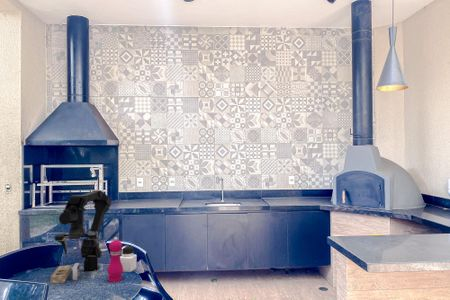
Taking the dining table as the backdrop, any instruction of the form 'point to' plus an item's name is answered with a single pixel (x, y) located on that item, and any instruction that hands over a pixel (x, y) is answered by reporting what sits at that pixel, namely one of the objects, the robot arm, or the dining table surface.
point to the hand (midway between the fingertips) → (76, 253)
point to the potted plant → (128, 259)
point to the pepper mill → (115, 261)
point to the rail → (60, 274)
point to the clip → (76, 271)
